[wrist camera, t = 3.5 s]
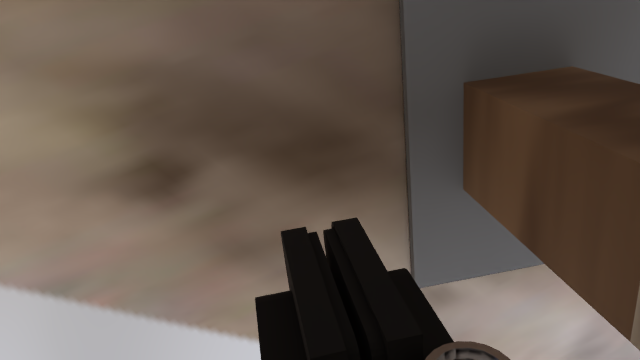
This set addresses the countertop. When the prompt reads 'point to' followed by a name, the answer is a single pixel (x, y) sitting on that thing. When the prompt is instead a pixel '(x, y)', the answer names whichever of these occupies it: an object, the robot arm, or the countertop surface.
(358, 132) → the countertop surface
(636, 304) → the block
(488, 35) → the mat
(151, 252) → the countertop surface
